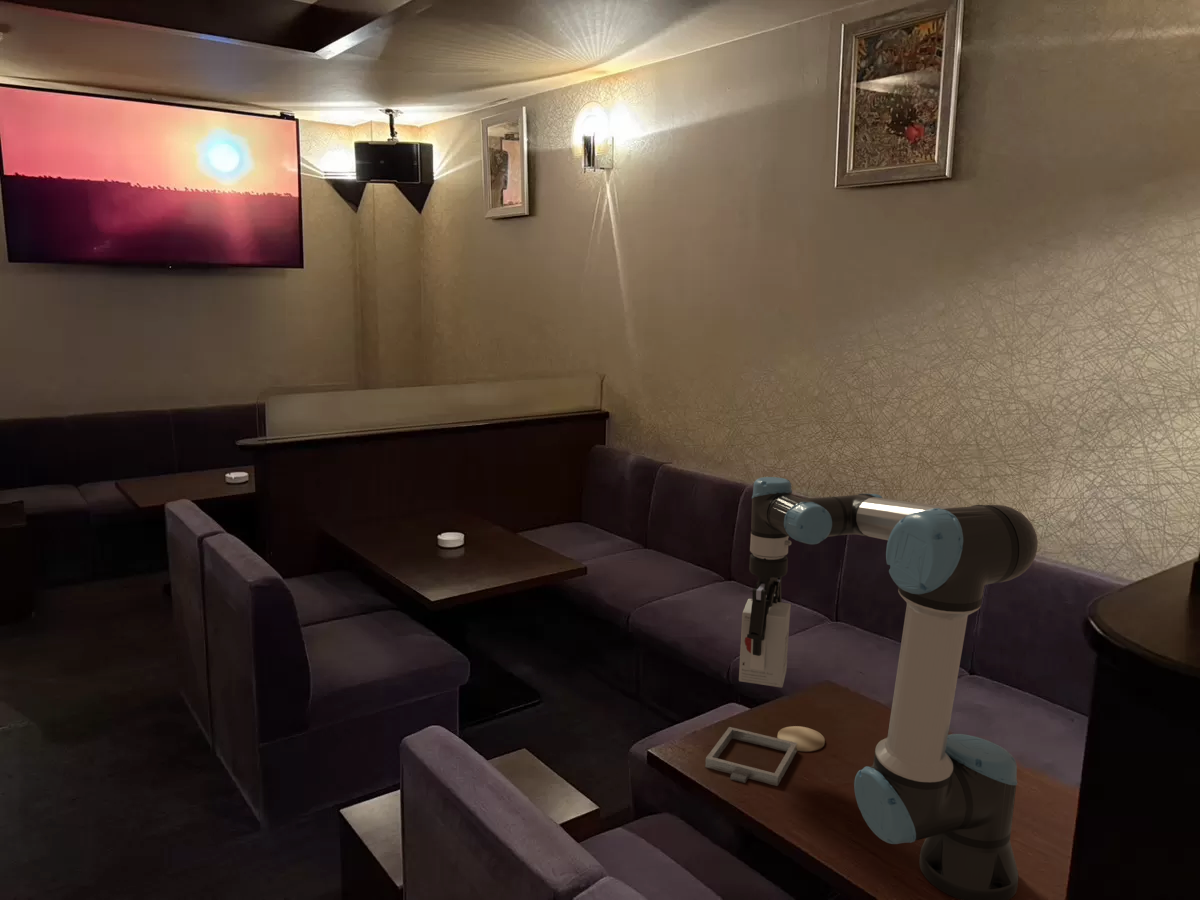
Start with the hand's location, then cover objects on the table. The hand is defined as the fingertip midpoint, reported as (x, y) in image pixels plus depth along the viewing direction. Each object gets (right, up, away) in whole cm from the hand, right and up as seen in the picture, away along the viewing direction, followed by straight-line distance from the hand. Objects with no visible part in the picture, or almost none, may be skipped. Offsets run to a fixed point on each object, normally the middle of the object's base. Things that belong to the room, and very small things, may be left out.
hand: (763, 659), depth 180 cm
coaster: (+10, -20, +11) cm, 25 cm away
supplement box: (0, -4, +1) cm, 4 cm away
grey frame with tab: (-2, -21, +3) cm, 22 cm away
